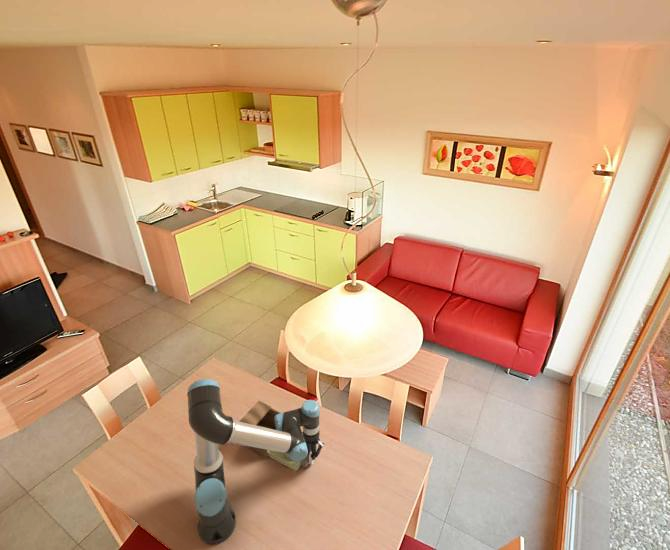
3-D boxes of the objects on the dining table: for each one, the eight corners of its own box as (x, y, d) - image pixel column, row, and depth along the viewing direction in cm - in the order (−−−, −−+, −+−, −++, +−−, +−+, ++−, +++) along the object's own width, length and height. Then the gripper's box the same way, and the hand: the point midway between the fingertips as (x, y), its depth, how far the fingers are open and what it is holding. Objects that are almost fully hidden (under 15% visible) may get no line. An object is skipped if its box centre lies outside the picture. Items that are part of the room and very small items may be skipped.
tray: (301, 474, 182) (301, 467, 179) (267, 455, 190) (266, 448, 188) (317, 451, 193) (317, 443, 190) (284, 433, 201) (283, 426, 198)
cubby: (267, 459, 189) (264, 438, 182) (240, 444, 196) (236, 423, 189) (286, 433, 202) (285, 413, 195) (261, 420, 209) (258, 400, 202)
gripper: (327, 429, 175) (327, 462, 186) (303, 417, 180) (304, 450, 192) (319, 441, 169) (319, 474, 181) (294, 429, 174) (296, 462, 186)
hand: (311, 462), depth 186 cm, fingers closed
